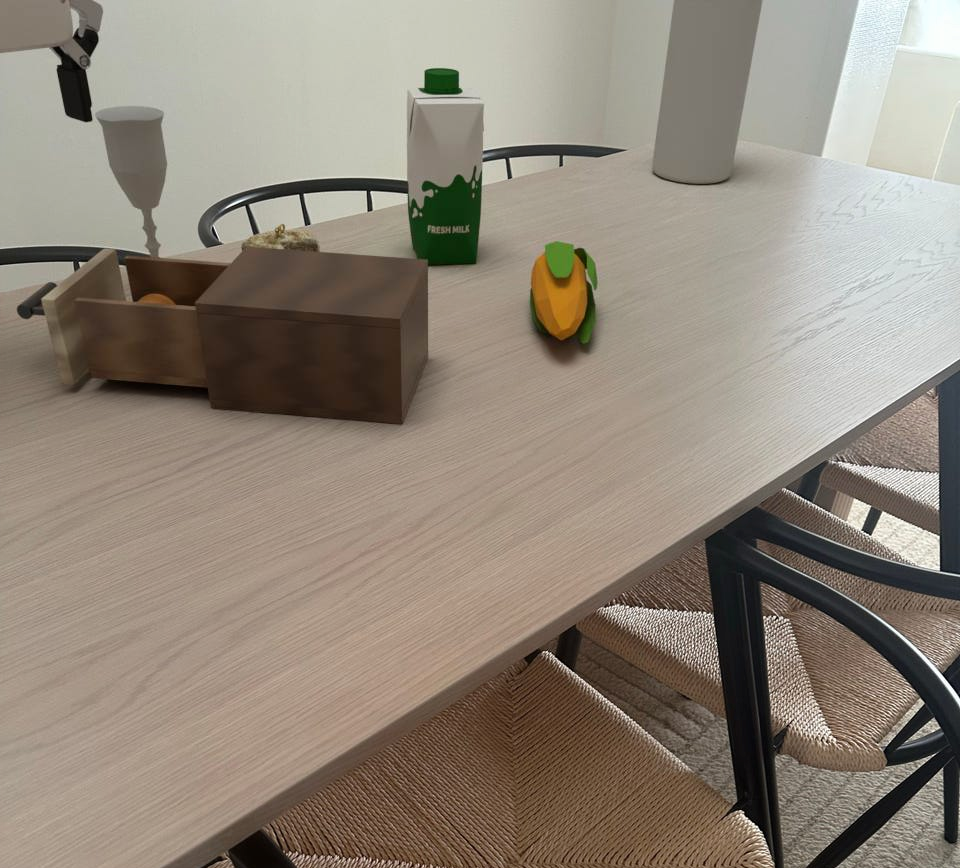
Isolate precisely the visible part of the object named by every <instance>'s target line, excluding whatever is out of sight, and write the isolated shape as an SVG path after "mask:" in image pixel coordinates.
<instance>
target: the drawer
mask: <svg viewBox="0 0 960 868" xmlns="http://www.w3.org/2000/svg"><path fill="white" fill-rule="evenodd" d="M118 258H119V257H118V254H117V249H116V248H104V247H103V249H102V250H100V251H99V252H98V253H97V254H96V255H94V256H93V257H91V258H90V259H89V260H88V261H87V262H85V263H84V264H83V265H82V266H80V267H79V268H78V269H77V270H75V271H74V272H73V273H71V275H69V276H68V277H66V278H65V279H64V280H62V282H60V283H59V284H56V283H55V282H52V281H48V282H47V283H45V284H44V285H43V286H41V287H40V288H39V289H38V290H36V291H35V292H34V293H32V294H31V295H30V296H29V297H27V298H26V299H25V300H24V301H22V302H20V304H18V305H17V307H16V312H17V314H18V316H19V317H20V318H21V319H24V320H30V319H31V318H33V316H43V317H45V320H46V325H47V328H48V332H49V337H50V339H51V344H52V348H53V353H54V355H55V360H56V364H57V367H58V372H59V376H60V378H61V384H69V385H75V384H76V383H77V382H78V381H79V380H80V379H81V378H82V377H83V376H84V375H85V374H86V373H87V372H88V371H89V370H90V374H91V378H92V379H98V380H99V379H100V380H110V381H123V382H124V381H125V382H134V383H135V382H137V383H148V384H160V385H171V386H185V387H195V388H207V389H208V385H207V378H206V372H205V366H204V359H203V353H202V346H201V340H200V333H199V327H198V320H197V314H196V308H195V302H196V301H197V300H198V299H199V298H200V297H201V295H202V294H203V293H204V292H205V291H206V290H207V289H208V288H209V287H210V286H211V285H212V284H213V282H214V281H215V280H216V279H217V278H218V277H219V276H220V275H221V274H222V273H223V272H224V270H225V269H226V268H227V267H228V266H229V265H230V264H231V263H232V262H220V261H210V260H209V261H207V260H195V259H183V258H182V259H181V258H167V257H159V258H155V257H151V256H140V255H126V256H124V258H123V260H124V263H125V269H126V274H127V280H128V285H129V289H130V294H131V300H132V301H128V300H127V297H126V294H125V289H124V284H123V278H122V273H121V268H120V263H119V259H118ZM149 294H161V295H164V296H166V297H168V298H169V299H171V300H172V301H173V302H174V303H175V304H176V305H169V304H156V303H143V302H138V301H139V300H140V299H141V298H142V297H144V296H146V295H149Z"/></svg>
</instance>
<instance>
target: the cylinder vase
mask: <svg viewBox="0 0 960 868" xmlns="http://www.w3.org/2000/svg"><path fill="white" fill-rule="evenodd" d="M762 7H763V0H673V4H672V12H671V19H670V28H669V34H668V42H667V50H666V57H665V65H664V72H663V81H662V87H661V96H660V103H659V104H660V105H659V110H658V118H657V126H656V133H655V140H654V149H653V155H652V164H651V167H652V171H653V173H655V175H657V176H658V177H660V178H663V179H665V180H669V181H672V182H677V183H681V184H682V183H683V184H692V185H706V184H707V185H710V184H717V183H721V182H723V181H725V180H727V179H729V178H730V177H731V175H732V173H733V171H732V170H733V167H734V161H735V156H736V149H737V145H738V140H739V135H740V134H739V133H740V128H741V123H742V122H741V121H742V117H743V111H744V105H745V101H746V94H747V89H748V85H749V84H748V83H749V77H750V73H751V66H752V61H753V57H754V56H753V55H754V51H755V50H754V49H755V45H756V37H757V33H758V28H759V22H760V16H761V11H762Z"/></svg>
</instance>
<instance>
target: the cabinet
mask: <svg viewBox="0 0 960 868" xmlns="http://www.w3.org/2000/svg"><path fill="white" fill-rule="evenodd" d="M230 263H231V264H230V265H229V266H228V267H227V268H226V269H225V270H224V272H223V273H222V274H221V275H220V276H219V277H218V278H217V279H216V280H215V281H214V282H213V284H212V285H211V286H210V287H209V288H208V289H207V290H206V291H205V292H204V293H203V294H202V295H201V297H200V298H199V299H198V300H197V301H196V302H195V308H196V314H197V320H198V327H199V333H200V340H201V346H202V353H203V359H204V366H205V372H206V378H207V385H208V388H207V392H208V398H209V403H210V409H217V410H229V411H240V412H241V411H242V412H254V413H266V414H277V415H290V416H302V417H311V418H312V417H313V418H314V417H315V418H326V419H335V420H336V419H337V420H348V421H362V422H372V423H383V424H384V423H385V424H397V425H403V424H404V421H405V418H406V415H407V413H408V411H409V407H410V406H411V403H412V401H413V398H414V395H415V392H416V390H417V387H418V384H419V382H420V379H421V376H422V375H423V372H424V369H425V366H426V363H427V361H428V359H429V265H428V260H425V259H418V258H408V257H396V256H383V255H368V254H354V253H340V252H328V251H326V252H325V251H320V252H314V251H301V250H287V249H273V248H259V247H246V248H245V249H244V250H243V251H242V250H241V252H240V253H239V254H238V255H237V256H236V257H235V259H233V261H232V262H230Z"/></svg>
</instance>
